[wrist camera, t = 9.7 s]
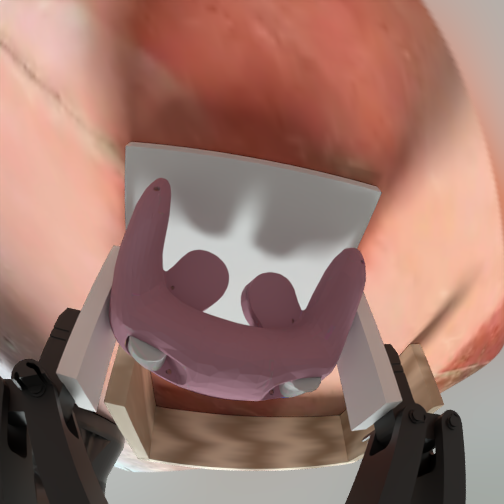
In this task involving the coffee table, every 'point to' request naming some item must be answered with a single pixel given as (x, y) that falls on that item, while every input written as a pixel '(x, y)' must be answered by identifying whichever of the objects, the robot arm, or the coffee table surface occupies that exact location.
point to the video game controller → (221, 330)
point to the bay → (243, 426)
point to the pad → (251, 215)
